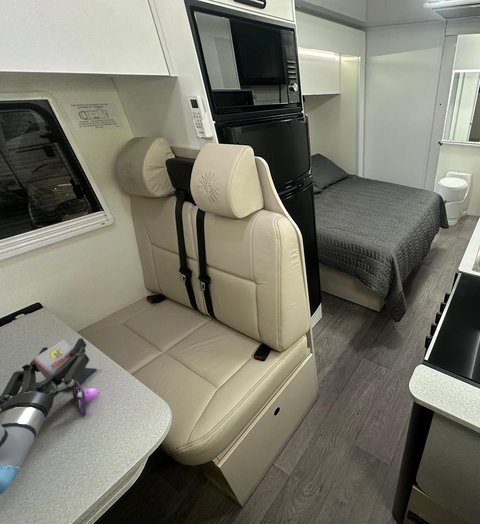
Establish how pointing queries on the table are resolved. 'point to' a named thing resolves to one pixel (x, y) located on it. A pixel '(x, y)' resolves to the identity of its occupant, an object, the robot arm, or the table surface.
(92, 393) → the purple knobbed frame
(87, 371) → the mat
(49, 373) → the white red carton
